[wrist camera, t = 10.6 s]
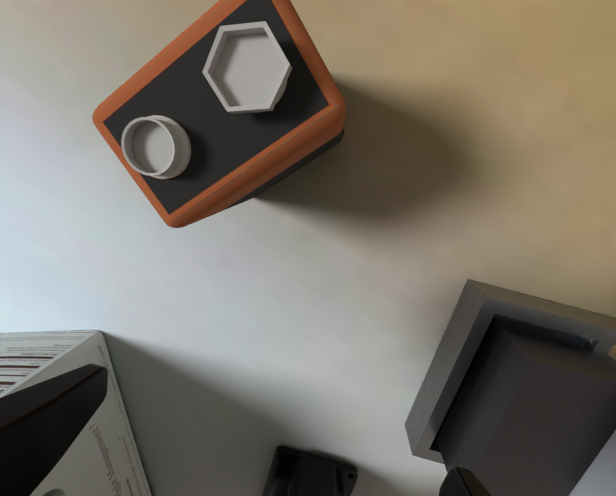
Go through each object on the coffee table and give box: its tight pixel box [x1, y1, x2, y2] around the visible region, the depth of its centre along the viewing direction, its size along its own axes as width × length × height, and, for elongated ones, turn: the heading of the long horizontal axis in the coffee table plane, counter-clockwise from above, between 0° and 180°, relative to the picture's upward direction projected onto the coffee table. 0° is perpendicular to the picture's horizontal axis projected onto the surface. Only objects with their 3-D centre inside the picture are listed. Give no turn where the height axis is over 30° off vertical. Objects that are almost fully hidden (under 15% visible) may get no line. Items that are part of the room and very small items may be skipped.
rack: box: [405, 279, 616, 496], centre depth 17 cm, size 12×14×6 cm
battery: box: [92, 0, 346, 228], centre depth 12 cm, size 4×7×10 cm, turn 122°
